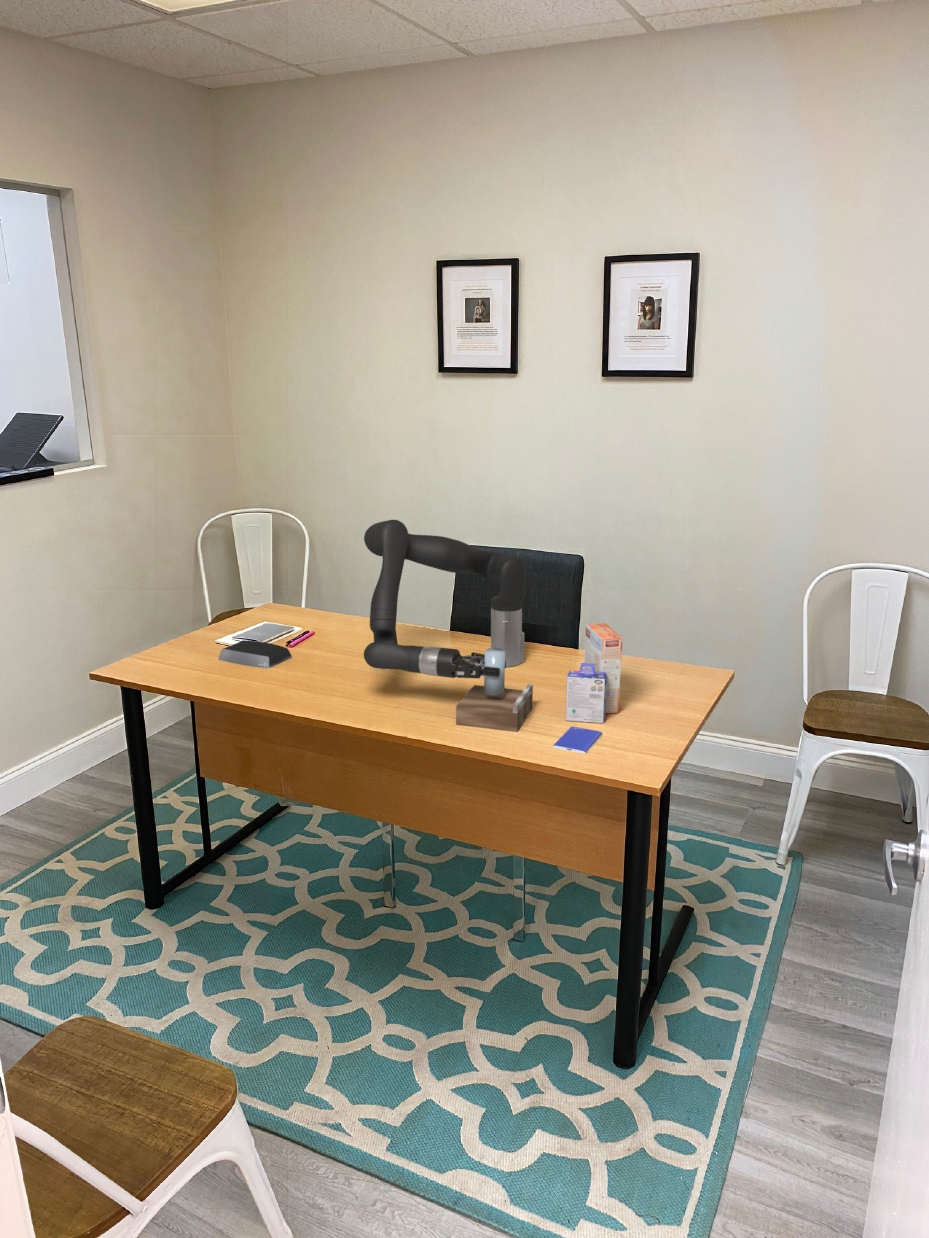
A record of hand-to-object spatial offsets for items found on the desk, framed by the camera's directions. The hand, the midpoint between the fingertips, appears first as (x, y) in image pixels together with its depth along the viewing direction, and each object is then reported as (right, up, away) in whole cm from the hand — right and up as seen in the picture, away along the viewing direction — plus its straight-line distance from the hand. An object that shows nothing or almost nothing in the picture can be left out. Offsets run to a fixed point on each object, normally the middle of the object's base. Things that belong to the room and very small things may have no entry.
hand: (502, 668), depth 238 cm
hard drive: (+18, -18, -11) cm, 27 cm away
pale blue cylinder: (-2, -6, +2) cm, 7 cm away
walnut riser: (-2, -13, +4) cm, 14 cm away
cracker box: (+27, -10, +12) cm, 31 cm away
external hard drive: (-74, 0, +50) cm, 89 cm away
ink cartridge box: (+22, -13, +3) cm, 25 cm away
